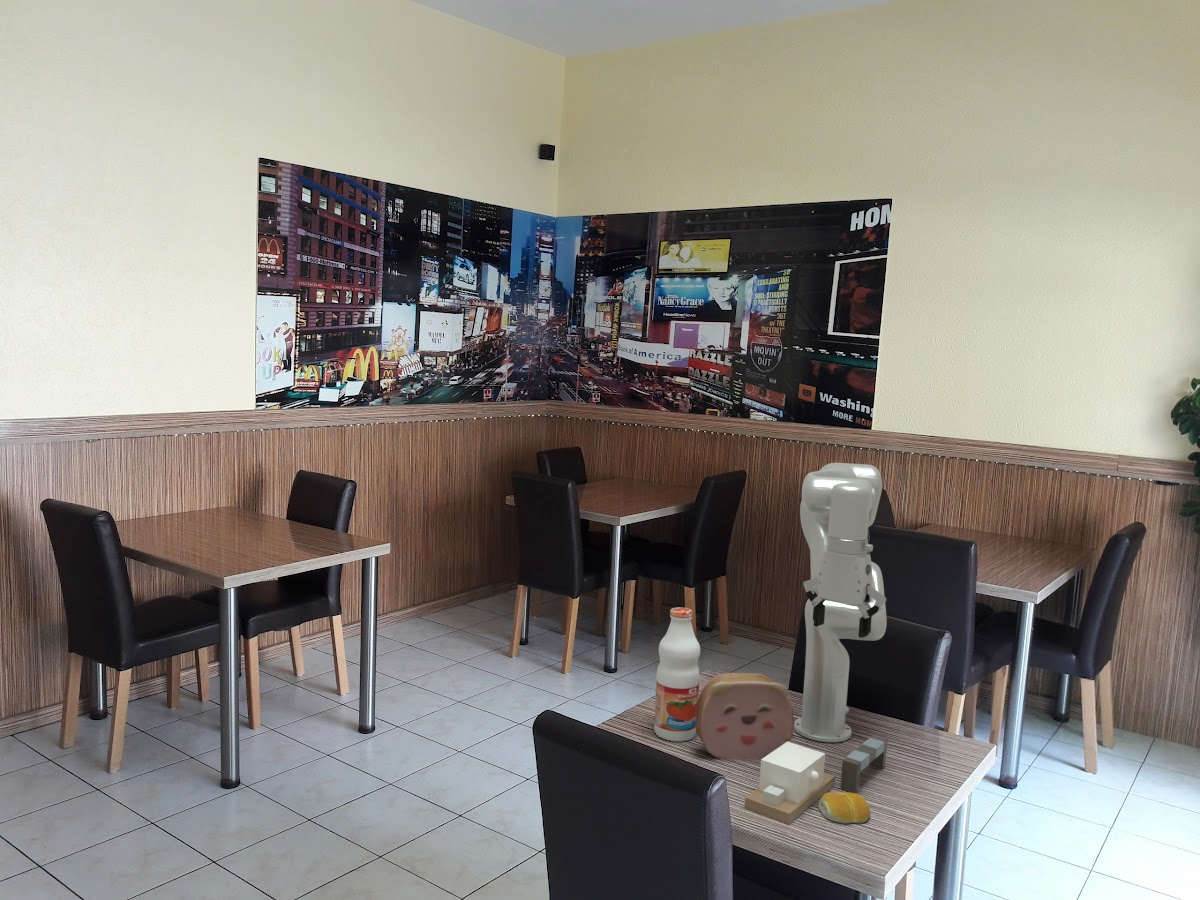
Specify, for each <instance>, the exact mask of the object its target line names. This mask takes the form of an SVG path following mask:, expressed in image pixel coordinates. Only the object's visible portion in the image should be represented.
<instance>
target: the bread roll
mask: <svg viewBox="0 0 1200 900" xmlns="http://www.w3.org/2000/svg"><path fill="white" fill-rule="evenodd" d="M818 810H819V811H820V813H821V815H823V817H824V818H826V819H827V820H829V821H831V822H836V823H838V822H839V823H840V824H852V823H855V824H862V823H865V822H867V821H868V819H869V818H870V814H871V809H870V806H869V803H868V800H866V799H865V797H863V796H861V794H858V793H856V794H855V793H850V792H847V791H843V792H839V793H838V792H833V791H831V792H829V791H828V792H827V793H825V794H824V795H823V796H822V797H821V798H820V799H819V804H818ZM839 823H838V824H839Z"/></svg>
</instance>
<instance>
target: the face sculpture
mask: <svg viewBox="0 0 1200 900" xmlns="http://www.w3.org/2000/svg"><path fill="white" fill-rule="evenodd" d="M787 693H788V692H787V688H786V686H785V685H784V684H783V683H779V682H775V681H773V680H772V679H771V677H770V678H769V677H768V676H767V675H764V674H762V673H756V672H754V673H751V672H750V673H748V672H745V673H744V672H743V673H740V672H726V673H721V674H719V675H716V676H714V677H712V678H711V679H710V680H709V681H707V683H706V684H705V685H704V686H703V687H702V689H701V691H700V693H699V697H698V703H697V716H696V736H697V737H698V738H700V739H699V740H701V741H702V743H703V747H704V748H705V751H706V752H707V753H709V754H710V755H711V756H713V757H715V758H716V759H717V758H718V760H722V761H723V760H726V761H727V760H728V761H731V760H733V761H734V760H736V761H737V760H738V761H741V760H742V761H743V760H744V761H745V760H761V759H763V758H764V757H766V756H767V755H769V754H770V753H771V752H773V751H774V750H776V749H777V748H779V747H780V746H782V745H783V744H785V743H786V742H790V741H791V740H792V739H793V737H794V723H795V720H794V708H793V705H792V702H791V700H790V699H789V697H788V694H787Z"/></svg>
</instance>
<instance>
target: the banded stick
mask: <svg viewBox="0 0 1200 900" xmlns="http://www.w3.org/2000/svg"><path fill="white" fill-rule="evenodd" d="M888 741H889V740H888V739H887V738H885V737H882V736H881V737H880V736H878V735H874V734H873V735H871V736H870V737H869V738H867V740H865V741H864V742H863V743H862V744H860V745H859V746H858V747H857V748H855V749H854V750H853V751H852V752H850V753H849V754H848V755H847V756H846V757H844V759H842V761H841V762H842V764H841V765H842V766H841V767H842V768H841V778H840V790H841V791H843V792H848V793H855V794H858V793H859V788H860V787H859V785H860V773H861V772H862V771H863V770H864V769H865V768H866V767H867V766H871V767H873V768H877V769H880V770H884V769H885V768H886V763H887V749H888Z"/></svg>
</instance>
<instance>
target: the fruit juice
mask: <svg viewBox="0 0 1200 900" xmlns="http://www.w3.org/2000/svg"><path fill="white" fill-rule="evenodd" d="M693 614H694V613H693V610H692V609H691V608H688V607H682V606H681V607H679V606H678V607H677V606H676V607H672V608H671V609H670V612H669V617H670V623H669V626H668V628H667V631H666V633H665V635H664V636H663V637H662V639H660V642H659V645H658V656H659V664H658V666H657V670H656V678H655V679H656V680H655V681H656V683H655V686H656V687H655V699H654V703H655V704H654V718H653V719H654V721H653V722H654V724H653V731H654V733H656V734H655V735H656V736H657V735H658V736H657V737H659V738H660V737H661V738H660V739H662V738H663V739H662V740H665V739H666V740H665V741H669V740H670V741H669V742H687V741H690V740H692V739H694V738H695V737H696V736H697V734H696V716H697V703H698V698H699V695H700V693H699V692H700V678H701V677H700V669H699V665H698V664H699V663H698V662H699V659H700V656H701V645H700V643H699V641H698V639H697V637H696V634H695V632H694V629H693V624H692V619H693Z"/></svg>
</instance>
